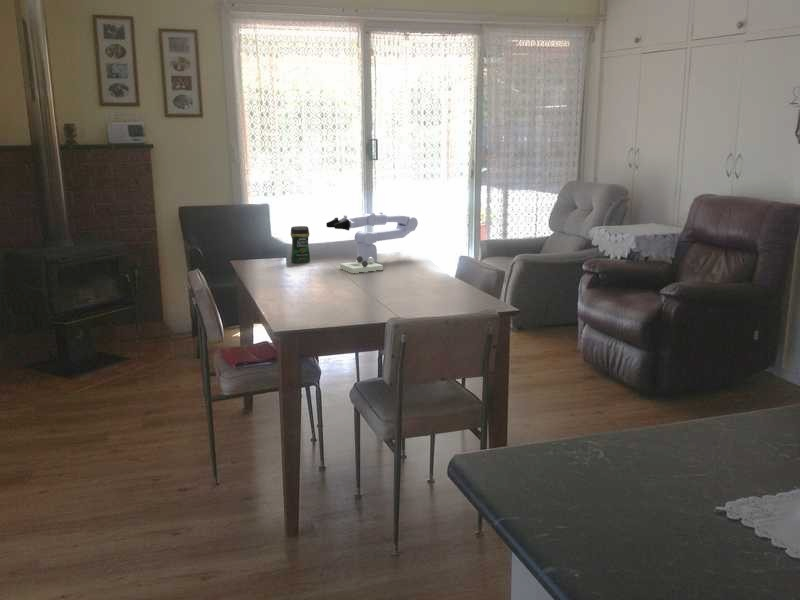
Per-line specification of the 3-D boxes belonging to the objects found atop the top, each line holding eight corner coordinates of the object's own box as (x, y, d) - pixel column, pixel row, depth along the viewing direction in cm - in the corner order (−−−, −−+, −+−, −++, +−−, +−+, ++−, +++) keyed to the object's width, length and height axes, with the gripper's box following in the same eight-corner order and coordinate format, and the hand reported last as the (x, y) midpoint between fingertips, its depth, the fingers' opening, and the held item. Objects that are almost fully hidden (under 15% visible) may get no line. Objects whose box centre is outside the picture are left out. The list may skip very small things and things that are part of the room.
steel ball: (372, 262, 358) (372, 256, 357) (375, 263, 355) (374, 257, 355) (366, 263, 357) (366, 256, 356) (369, 264, 354) (369, 257, 353)
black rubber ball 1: (361, 261, 362) (361, 255, 361) (363, 262, 359) (363, 256, 358) (355, 262, 360) (355, 256, 360) (358, 262, 358) (358, 256, 357)
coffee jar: (292, 263, 371) (291, 227, 367) (290, 261, 378) (289, 225, 374) (311, 262, 374) (310, 226, 369) (309, 260, 381) (307, 224, 377)
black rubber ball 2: (366, 265, 350) (366, 259, 349) (369, 266, 347) (368, 260, 347) (360, 266, 349) (360, 260, 348) (363, 267, 346) (363, 261, 345)
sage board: (369, 265, 364) (369, 260, 364) (383, 270, 352) (383, 265, 351) (340, 268, 357) (340, 263, 356) (353, 273, 344) (352, 268, 344)
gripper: (345, 213, 370) (322, 216, 362) (361, 215, 358) (337, 219, 351) (346, 226, 372) (323, 230, 364) (362, 229, 360) (339, 233, 353)
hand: (330, 225), depth 357 cm, fingers open, 7 cm apart
